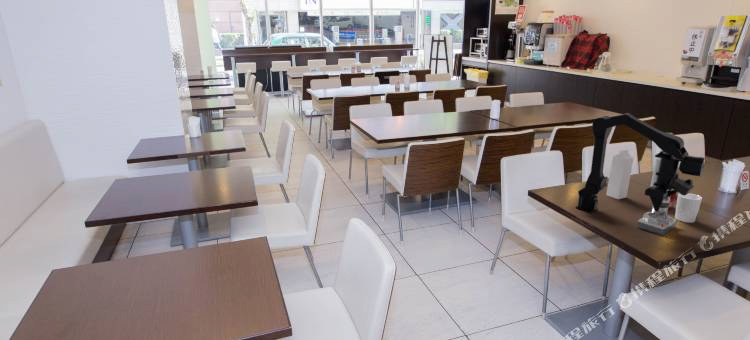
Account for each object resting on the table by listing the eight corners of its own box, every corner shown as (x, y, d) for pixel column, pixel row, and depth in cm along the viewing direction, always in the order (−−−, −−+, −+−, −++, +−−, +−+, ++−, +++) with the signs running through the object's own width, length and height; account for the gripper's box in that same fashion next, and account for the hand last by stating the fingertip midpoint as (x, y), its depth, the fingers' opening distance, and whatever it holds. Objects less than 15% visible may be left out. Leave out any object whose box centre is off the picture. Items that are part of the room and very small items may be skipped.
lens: (648, 212, 168) (652, 195, 166) (654, 209, 171) (657, 192, 169) (663, 217, 164) (667, 198, 162) (669, 213, 167) (673, 195, 165)
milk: (606, 195, 203) (613, 149, 196) (614, 193, 205) (622, 147, 199) (618, 199, 197) (626, 152, 191) (627, 197, 200) (635, 150, 193)
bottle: (662, 194, 203) (675, 135, 195) (647, 191, 208) (658, 133, 199) (668, 191, 207) (680, 133, 198) (652, 188, 212) (664, 131, 203)
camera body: (636, 227, 169) (639, 216, 168) (650, 219, 176) (652, 209, 175) (662, 235, 163) (665, 224, 161) (675, 226, 170) (677, 216, 168)
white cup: (700, 224, 172) (706, 200, 169) (678, 222, 174) (683, 198, 171) (690, 216, 179) (696, 193, 176) (669, 214, 181) (674, 192, 178)
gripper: (683, 181, 151) (673, 222, 156) (702, 171, 162) (692, 210, 167) (648, 173, 160) (640, 213, 164) (668, 164, 170) (660, 201, 175)
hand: (659, 209), depth 167 cm, fingers closed on lens, 5 cm apart
